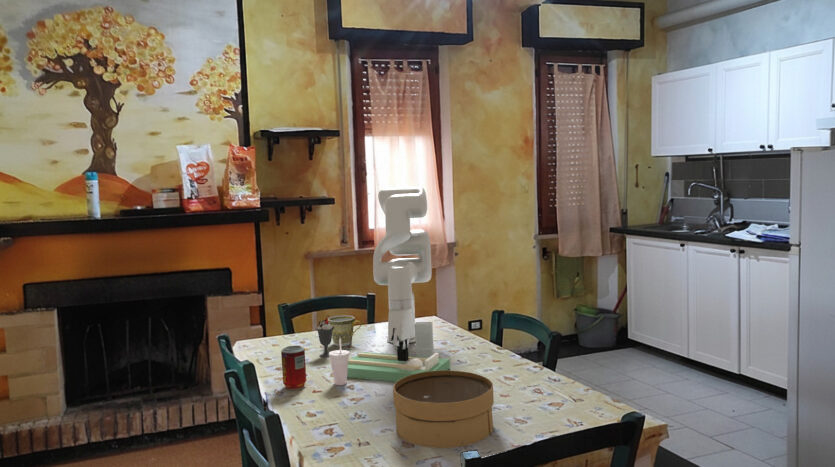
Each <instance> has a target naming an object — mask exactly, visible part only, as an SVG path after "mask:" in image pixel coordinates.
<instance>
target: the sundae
mask: <svg viewBox="0 0 835 467" xmlns="http://www.w3.org/2000/svg"><path fill="white" fill-rule="evenodd" d="M328 317H330V315H329V314H327V316H326V317H325V319H324V320H322V321H321V320H319V321H318V327H315V331H317V333H318V339H319V343H320V344H321V346H323V347H324V349H323V350H324V352H323V353H322V354H319V357H320V358H330V357H329V353H330V351H329V350H328V349H329V348H328V346H329V345H330V344H331V343H332V341H333V339H332V331H333V329H334V328H335V327H333V326H331V325H330V323H329V321H328V319H329V318H328Z"/></svg>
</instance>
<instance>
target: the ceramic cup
mask: <svg viewBox="0 0 835 467" xmlns="http://www.w3.org/2000/svg"><path fill="white" fill-rule="evenodd" d="M327 319H328V321H329V323H330V325H331V326H333V327H335V328H334V329H333V331H332V342H333V345H334V346H336V347H340V344H339V339H341V347H345V346H349V345H352V342H353V336H354V334H355V333H356V332H357V331H358V330H359V329H360V328H361V327H362V322H361V321H360V320H358V319H357V320H356V318H355V317H354V316H353V315H346V314H345V315H336V316H332V317H331V316H330V317H329V318H327ZM356 323H359V326H358V327H357V328H356V329H355V330H354V327H355V324H356Z"/></svg>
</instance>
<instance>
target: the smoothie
mask: <svg viewBox="0 0 835 467" xmlns="http://www.w3.org/2000/svg"><path fill="white" fill-rule="evenodd" d="M339 344H340V346H339V349H336V350H331V351H329V357H328V358H329V359H330V365H331V370H332V375H333V376H332V377H333V382H334V385H336V386H343V385H346V384H347V382H348V377H347V372H348V359H349V357H350V356H351V355H350V351H349V350H347V349H343V348H342V346H341V339H339Z"/></svg>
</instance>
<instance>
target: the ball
mask: <svg viewBox="0 0 835 467" xmlns="http://www.w3.org/2000/svg"><path fill="white" fill-rule="evenodd" d="M408 365H418V366H420V367H423V363H422V361H421V360H420V359H417V358H414V359H412V360H410V361H409V363H408Z"/></svg>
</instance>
